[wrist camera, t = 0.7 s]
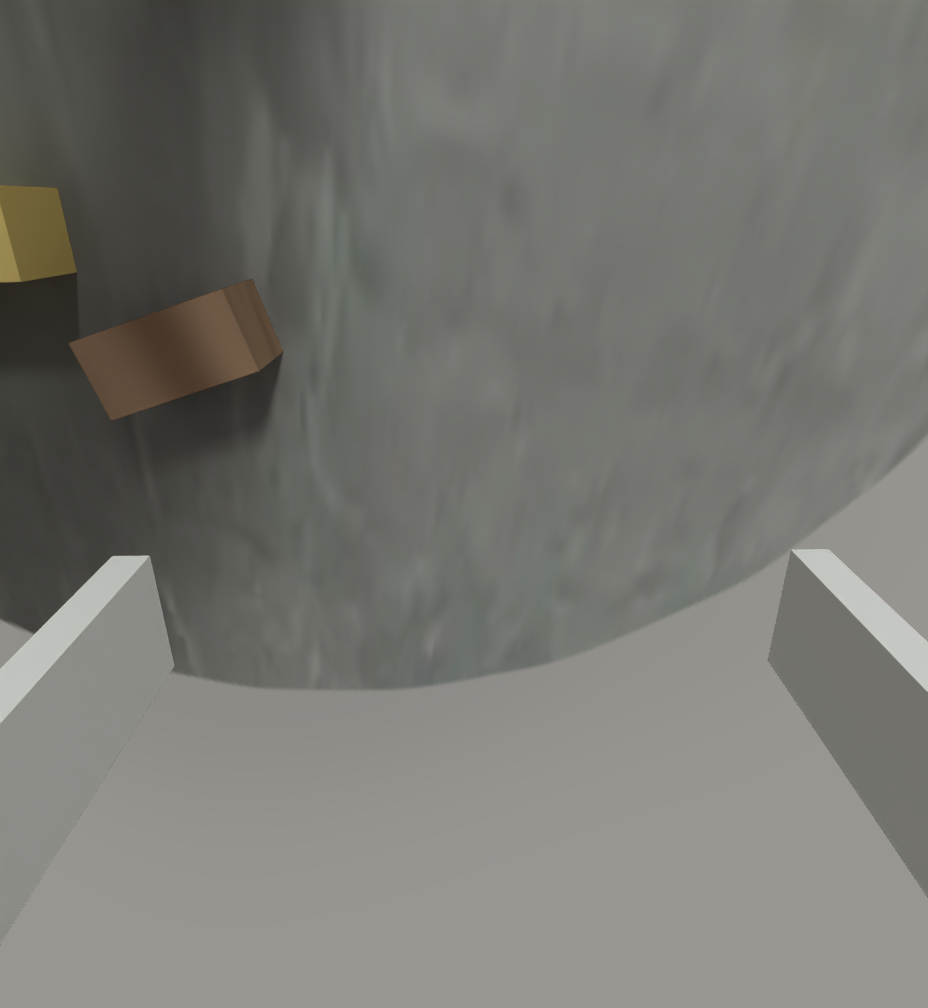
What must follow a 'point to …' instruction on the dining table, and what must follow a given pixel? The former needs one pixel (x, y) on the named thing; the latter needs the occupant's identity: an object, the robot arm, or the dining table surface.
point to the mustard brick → (33, 235)
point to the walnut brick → (179, 350)
